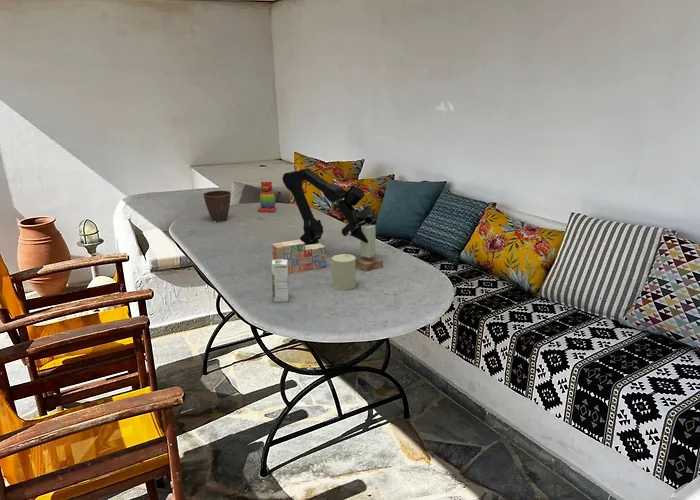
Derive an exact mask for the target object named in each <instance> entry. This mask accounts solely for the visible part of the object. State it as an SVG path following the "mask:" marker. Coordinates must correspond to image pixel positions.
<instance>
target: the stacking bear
mask: <svg viewBox="0 0 700 500" xmlns="http://www.w3.org/2000/svg"><path fill="white" fill-rule="evenodd" d="M260 184H261V185H260V189H261V192H260V195H259V203H260V207H259V208H258V209H257V212H258V213H275V212H277V208H276V206H275V205H276V196H275V193H274V191H273V185H272V184H273V182H272V181H261V182H260Z"/></svg>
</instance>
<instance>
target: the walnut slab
mask: <svg viewBox="0 0 700 500" xmlns="http://www.w3.org/2000/svg"><path fill="white" fill-rule="evenodd" d="M383 266H384V261H383V260H382V259H380V258H378V257H376V256H375V255H374V256H372V257H370V258H368V257H364V256H360V257H356V259H355V268H358V269H360V270H362V271H364V272H368V271H373V270H377V269H381V268H383Z"/></svg>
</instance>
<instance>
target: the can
mask: <svg viewBox="0 0 700 500" xmlns="http://www.w3.org/2000/svg"><path fill="white" fill-rule="evenodd" d="M356 258H357V257H356V256H355V255H353V254H347V253H342V254H341V253H340V254H335V255H333V256H332V257H331V263H332V287H333V288H334V289H335V290H339V291H349V290H353V289H355V288H356V287H357V284H356V283H357V282H356V277H357V276H356V266H355V259H356Z"/></svg>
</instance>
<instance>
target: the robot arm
mask: <svg viewBox="0 0 700 500" xmlns="http://www.w3.org/2000/svg"><path fill="white" fill-rule="evenodd" d="M281 180H282V182H283V184H284V186H285V188H286V189H287V190H288V191H289V192H290V193H291V194H292V196H293V199H294V201H295V204H296V206H297V208H298V211H299V213H300V216H301V218H302V220H303V227H302V229H303V234H302V235H301V236H300V238H299V240H301V241H302V242H304V243H305V245H311V244H318V243H320V241H319V240H321V239H322V236H323V234H324V229H323V228H324V226H323V225H322V221H321V220H320V219H317V218H316V217H314V216H315V215H314V214H313V212H312V209H311V207H310V204H309V202H308V200H307V197H306V194H305V192H304V189H303V180H305V181H306V182H307V183H309V184H311V185H312V186H313V187H314V188H316V189H318V190H319V191H320V192H322V194H323V196H324V197H325V198H326V199H327V200H328V201H329V203H334V204H333V206H334V207H333V211H339V212H340V213H341V215H342V216H343V217H344V218H343V221H347V224H346V225H345V226H344V227H343V228H342V229H341V234H342V235H343V237H347V236H350V237H353V238H356V239H358V240H360V242H361V241H363V242H365V243H368V240H367V238H366V237H365V235H364V234H363V232H362V229H361V226H363V225H365V224H369V225H373V222H375V221H376V219H377V218H376V217H375V215H374V214H372V212H373V209H372V208H371V206H370V205H366V206H364V207H363V209H362V210H360V209H358V208H357V209H356V208H355V206H357V205H358V204H359V203H360V201H362V200H363V199H364V197H365V193H364V191H363V190H362V189H361V188H360V187H358V186H356V185H354V184H353V185H351V186H350V187H349V189H348V190H347V189H344V188H343V187H342V186H339V185H337V184H333V183H330V182H328V181H327V180H325V179H324V178H323V177H321V176H320V175H318V174H316V173H315V172H314V171H312V170H311V168H308V167H306V168H305V167H304V168H301V169H299V170H294V171H293V170H291V171H289V172H285V173H284V174H283V175H282V179H281ZM338 201H339V202H338ZM336 202H337V203H336ZM349 233H350V234H349Z"/></svg>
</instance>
